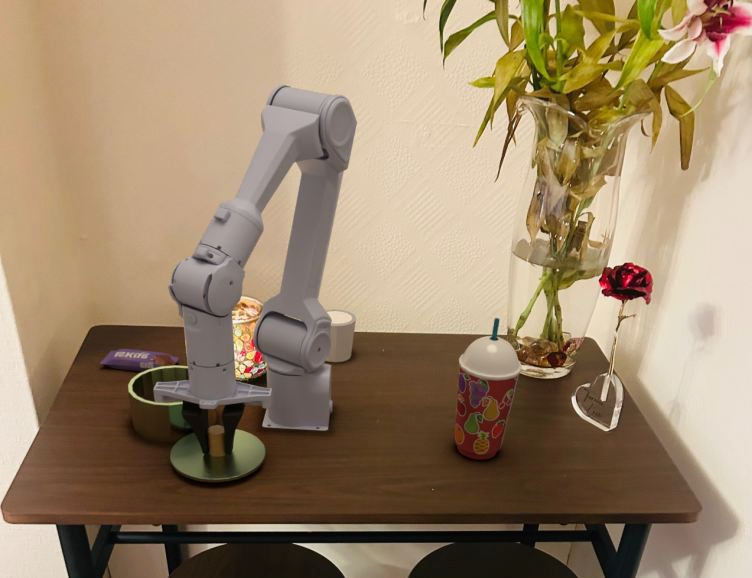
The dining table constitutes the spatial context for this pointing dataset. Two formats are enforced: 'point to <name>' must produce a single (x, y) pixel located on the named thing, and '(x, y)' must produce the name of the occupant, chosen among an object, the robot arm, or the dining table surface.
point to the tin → (160, 406)
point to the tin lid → (217, 456)
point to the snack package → (138, 360)
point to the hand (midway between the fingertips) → (217, 450)
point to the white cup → (341, 335)
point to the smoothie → (485, 395)
